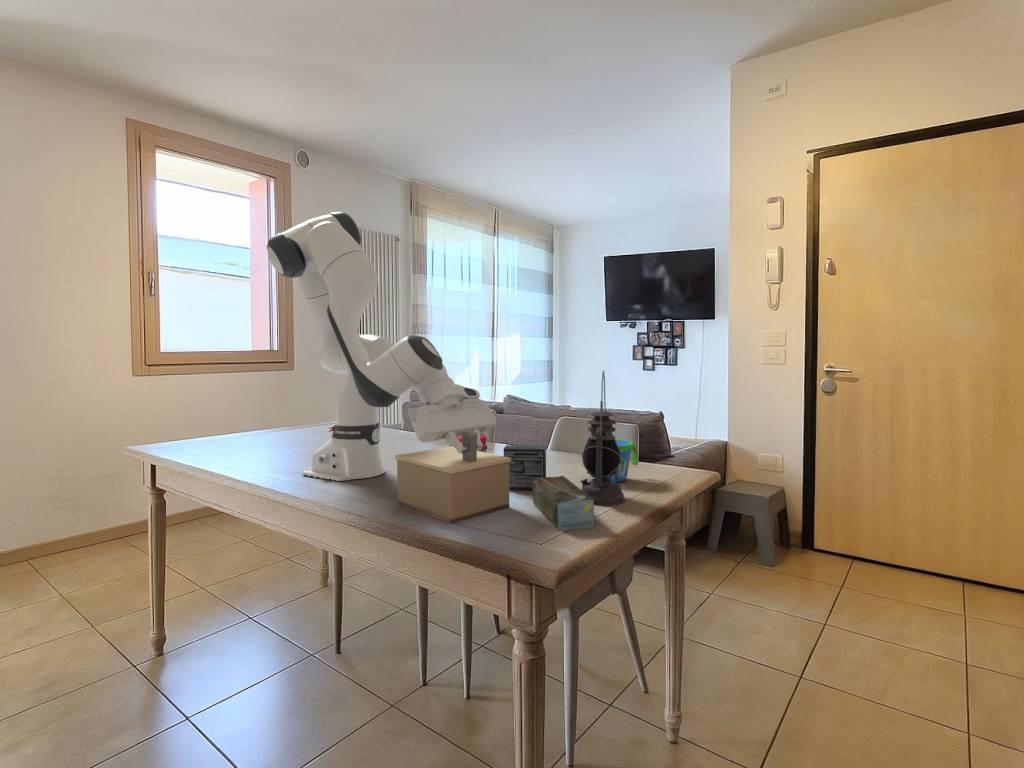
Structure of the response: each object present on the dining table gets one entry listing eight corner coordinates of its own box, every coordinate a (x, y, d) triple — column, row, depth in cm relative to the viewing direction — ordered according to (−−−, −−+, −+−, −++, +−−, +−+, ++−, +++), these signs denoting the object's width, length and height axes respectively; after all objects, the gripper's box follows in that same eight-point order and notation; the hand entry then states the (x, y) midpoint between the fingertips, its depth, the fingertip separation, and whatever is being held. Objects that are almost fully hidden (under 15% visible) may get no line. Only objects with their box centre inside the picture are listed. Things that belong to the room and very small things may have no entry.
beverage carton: (556, 532, 104) (556, 498, 103) (531, 504, 123) (531, 475, 122) (595, 529, 106) (595, 495, 105) (564, 502, 124) (564, 473, 124)
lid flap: (395, 459, 122) (394, 431, 122) (453, 449, 134) (453, 423, 133) (451, 473, 107) (450, 442, 107) (511, 461, 119) (511, 433, 118)
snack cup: (627, 473, 151) (627, 437, 151) (648, 481, 141) (649, 443, 141) (577, 477, 146) (577, 440, 145) (595, 487, 136) (595, 447, 136)
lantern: (582, 490, 133) (582, 369, 131) (626, 493, 130) (627, 369, 128) (574, 504, 121) (575, 371, 119) (623, 508, 118) (624, 371, 116)
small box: (546, 484, 139) (546, 444, 139) (545, 491, 133) (545, 449, 132) (506, 483, 140) (505, 443, 140) (503, 490, 134) (503, 448, 133)
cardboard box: (397, 503, 123) (397, 459, 122) (453, 490, 134) (453, 450, 133) (452, 523, 108) (451, 474, 108) (509, 506, 120) (509, 462, 119)
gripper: (409, 395, 113) (437, 447, 107) (483, 389, 127) (512, 435, 121) (398, 414, 116) (425, 466, 110) (471, 407, 131) (498, 452, 124)
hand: (471, 450), depth 116 cm, fingers open, 3 cm apart
